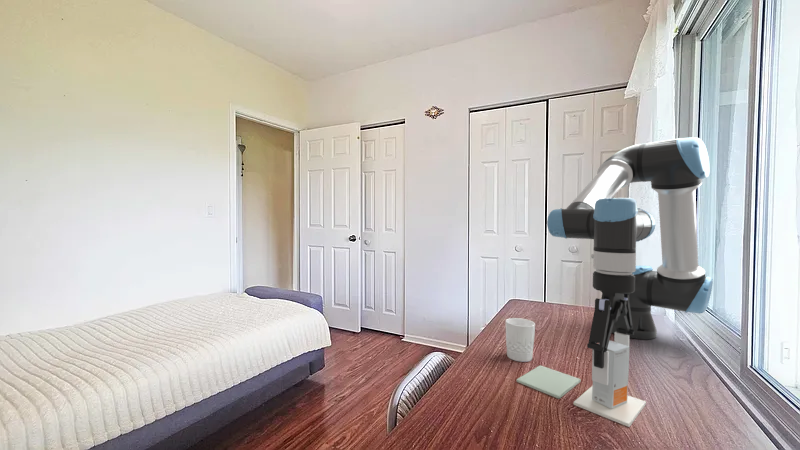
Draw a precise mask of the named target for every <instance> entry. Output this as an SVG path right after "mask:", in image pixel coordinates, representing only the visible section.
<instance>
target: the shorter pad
mask: <svg viewBox="0 0 800 450" xmlns="http://www.w3.org/2000/svg"><path fill="white" fill-rule="evenodd" d="M516 382H517V383H519V384H522V385H524V386H527V387H529V388H531V389H533V390H536V391H538V392H541V393H544V394H546V395H548V396H551V397H553V398H556V399H558V400H560V399H561V398H562V397H564V396H565V395H566V394H567V393H568V392H570V391H571V390H573V389H574V387H576V386H577V385H579V384H580V383H581V382H582V381H581V378H579V377H575V376H572V375H570V374H568V373H564V372H561V371H558V370H555V369H552V368H549V367H546V366H543V365H541V364H540V365H538V366H537V367H535V368H533V369H532V370H530V371H528V372H527V373H525V374H523V375H521V376H520V377H518V378H517V379H516Z"/></svg>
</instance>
